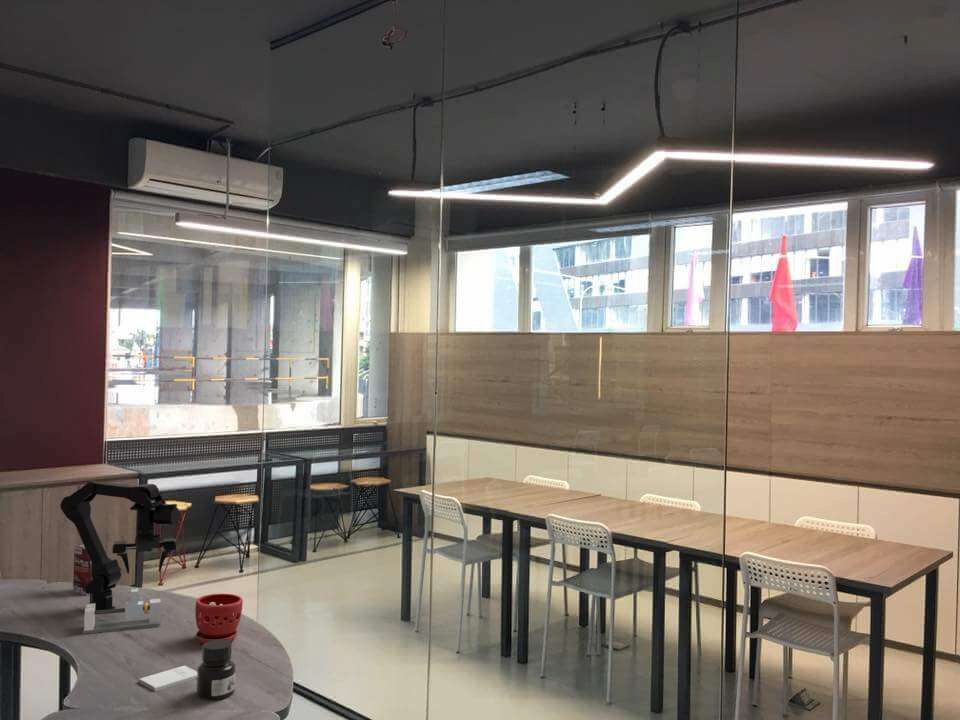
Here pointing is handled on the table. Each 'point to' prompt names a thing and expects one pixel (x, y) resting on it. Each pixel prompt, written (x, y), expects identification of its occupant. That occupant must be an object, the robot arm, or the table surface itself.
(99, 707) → the table surface
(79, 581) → the supplement box
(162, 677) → the external hard drive
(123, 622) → the grey slide rail
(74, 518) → the robot arm
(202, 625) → the plant pot
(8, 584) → the table surface
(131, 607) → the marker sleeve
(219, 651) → the ink bottle
